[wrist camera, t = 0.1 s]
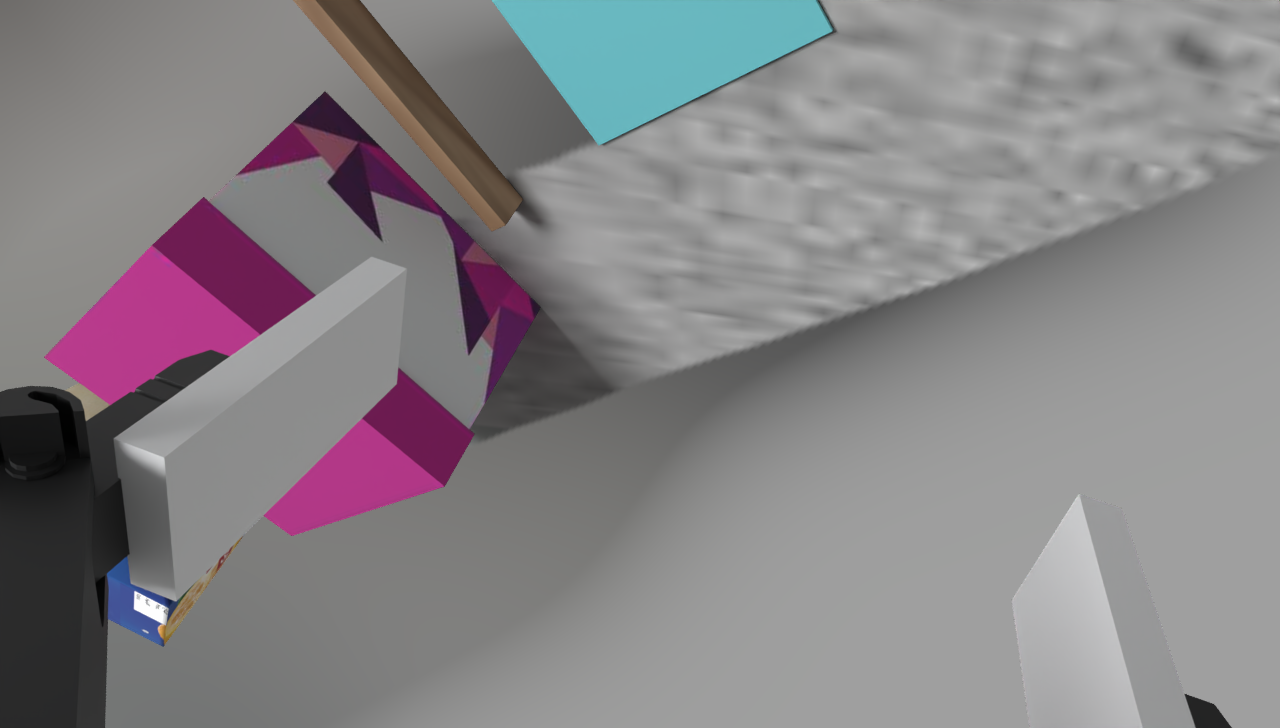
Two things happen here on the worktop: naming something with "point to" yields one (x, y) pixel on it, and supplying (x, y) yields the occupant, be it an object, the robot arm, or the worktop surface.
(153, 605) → the beverage box
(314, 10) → the wall
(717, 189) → the worktop surface
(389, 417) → the decorative box
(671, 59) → the teal mark
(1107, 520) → the robot arm
